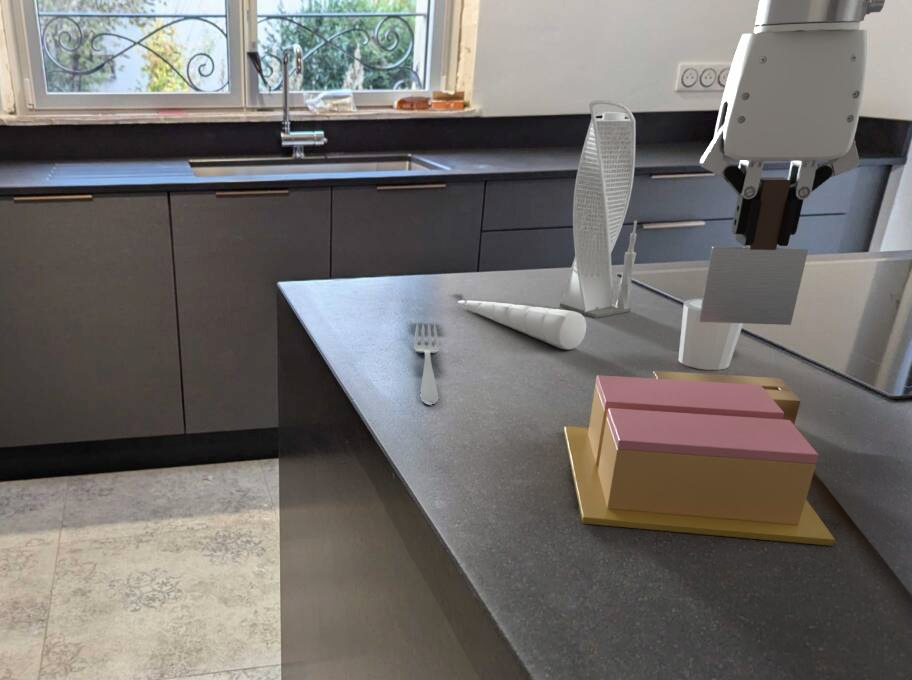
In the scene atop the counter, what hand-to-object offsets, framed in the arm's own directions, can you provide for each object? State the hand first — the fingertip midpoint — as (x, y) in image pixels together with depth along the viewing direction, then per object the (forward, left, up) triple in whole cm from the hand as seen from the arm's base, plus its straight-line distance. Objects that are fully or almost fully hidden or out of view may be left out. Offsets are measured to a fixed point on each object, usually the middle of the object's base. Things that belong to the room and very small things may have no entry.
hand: (761, 241), depth 74 cm
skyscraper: (+8, -41, -18) cm, 46 cm away
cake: (+6, +14, -18) cm, 24 cm away
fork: (+30, -11, -18) cm, 37 cm away
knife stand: (0, 0, -18) cm, 18 cm away
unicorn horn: (+19, -29, -18) cm, 39 cm away
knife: (0, 0, -8) cm, 8 cm away
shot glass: (-3, -19, -18) cm, 26 cm away
